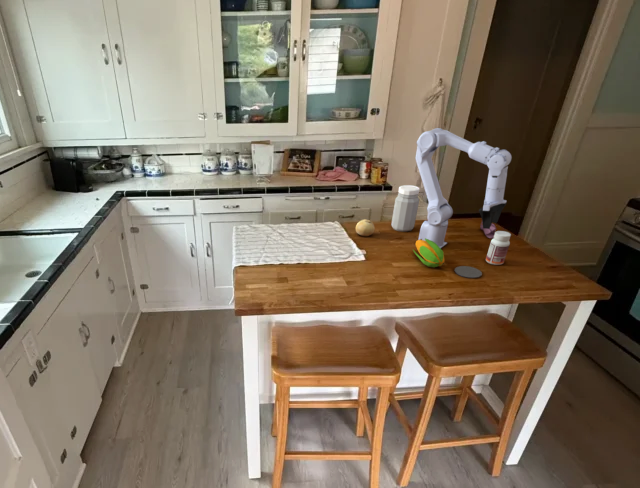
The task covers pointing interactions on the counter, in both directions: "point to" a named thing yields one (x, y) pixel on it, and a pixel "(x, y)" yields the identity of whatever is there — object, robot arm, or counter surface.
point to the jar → (405, 208)
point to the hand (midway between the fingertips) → (490, 225)
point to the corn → (430, 253)
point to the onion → (365, 227)
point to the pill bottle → (498, 248)
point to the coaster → (468, 272)
